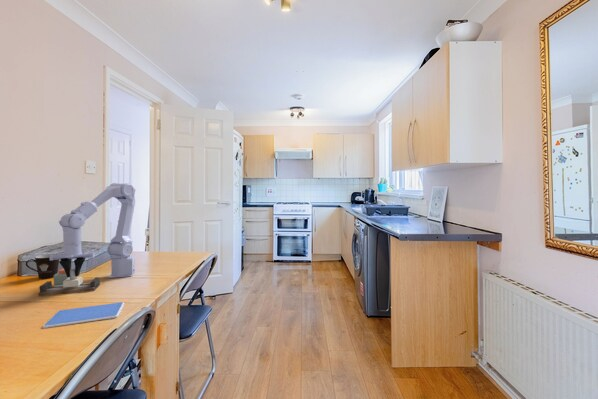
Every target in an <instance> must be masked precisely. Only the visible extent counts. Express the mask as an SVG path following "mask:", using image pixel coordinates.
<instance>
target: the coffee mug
mask: <svg viewBox="0 0 598 399" xmlns="http://www.w3.org/2000/svg"><path fill="white" fill-rule="evenodd" d="M55 254H56V253H47V254H46V253H45V254H40V255H36V256H35V257H34V259H33V258H32V259H28V260H26V261H25V267H27V268H28V269H30V270H31V271H33V272H37V275H38V279H39V280H48V279H54V275H55V274H57V273H58V272H59V266H60V265H59V264H60V260H50V255H55ZM31 261H32V262H35V265H36V269H35V268H33V267H31V266H30V265H28V263H29V262H31Z"/></svg>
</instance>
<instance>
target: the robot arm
mask: <svg viewBox="0 0 598 399" xmlns="http://www.w3.org/2000/svg"><path fill="white" fill-rule="evenodd" d="M135 194H136V188H135V187H134V186H133V185H132V184H131V183H129V182H128V183H115V182H114V183H111V184H109V186H106V188H105V189H104V190H103V191H102V192H101V193H99V194H98V195H97V196H95V198H93V199H92V200H91V201H83V202H81V203H80V205H79V206H78V207H76V208H75V209H72V210H71V211H70V213H66V214H63V215H62V216H61V218H60V220H58V224H59V225H60V227H61V228H62V236H63V237H62V239H63V241H62V242H63V243H62V244H63V246H62V247H63V253H54V254H55V255H50V260H59V264H60V266H61V267H62V269H64V270H65V272H66V275H67V277H70V269H71V268H72V261H73V260H74V261H73V262H74V268H75V277H80V274H81V269H82V266H83V264H84V262H85V260H86V259H88V258H90V259H93V258H95V257H96V255H95V254H96V253H95V252H94V251H93V252H92V251H89V252H88V251H87V252H83V251H82V250H83V249H82V227H84V225H85V222H86V221H87V220H88V219H89V218H91V217H92V216H93V215H94V214H95V213H96V212H98V208H99V207H100V206H101V205H103V204H105V203H106V202H107V201H109V200H111V199H112V198H115V199H116V200H118V201H119V202H120V203H121V206H120V211H119V216H118V221H117V226H116V227H117V228H116V232H115V236H114V237H112V238H111V239H110V243H109V244H108V245H107V249H106V251H107V253H108V255H110V259H111V260H110V262H111V264H110V266H111V267H110V268H111V269H110V270H111V272H110V273H111V274H110V275H109V276H108V279H114V278H125V277H133V275H134V274H135V273H136V268H135V267H136V265H135V264H136V263H135V259H136V258H135V256H134V255H133V256H132V253H133V251H134V250H133V249H134V248H133V240H132V239H131V238H130V233H131V227H132V220H133V217H134V211H135V205H136V197H135Z"/></svg>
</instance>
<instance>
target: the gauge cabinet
mask: <svg viewBox="0 0 598 399" xmlns="http://www.w3.org/2000/svg"><path fill="white" fill-rule="evenodd" d="M67 278H70V277H67V275H66V274H59V271H58V273H57V274H55V275H54V278H53V286H57V285H63V281H64V280H66V279H67Z"/></svg>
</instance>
